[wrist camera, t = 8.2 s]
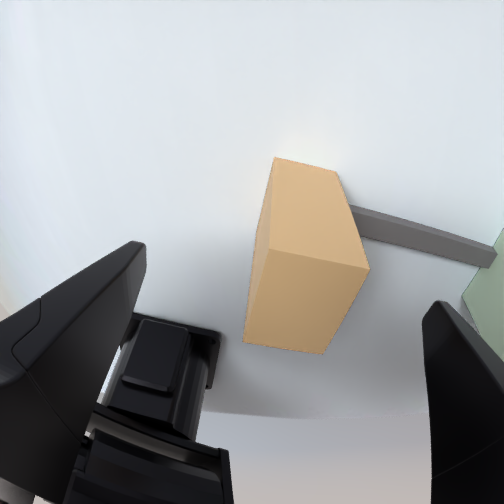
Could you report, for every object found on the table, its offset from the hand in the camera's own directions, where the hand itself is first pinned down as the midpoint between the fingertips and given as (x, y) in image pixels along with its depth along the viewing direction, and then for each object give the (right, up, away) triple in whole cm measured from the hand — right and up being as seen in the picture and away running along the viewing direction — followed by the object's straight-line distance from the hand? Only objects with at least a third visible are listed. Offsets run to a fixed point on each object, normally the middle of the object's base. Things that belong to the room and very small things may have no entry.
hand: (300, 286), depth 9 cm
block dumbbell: (+8, +1, +5) cm, 9 cm away
